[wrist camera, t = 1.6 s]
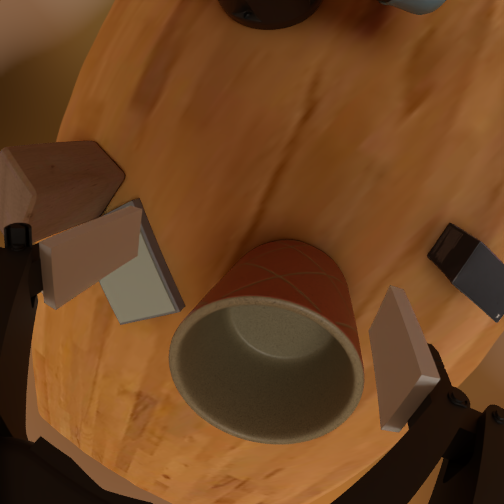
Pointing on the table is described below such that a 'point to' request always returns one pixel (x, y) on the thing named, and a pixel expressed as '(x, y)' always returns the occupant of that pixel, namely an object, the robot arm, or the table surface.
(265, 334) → the planter
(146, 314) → the grey rectangular slab
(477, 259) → the small box
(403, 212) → the table surface
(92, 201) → the wooden block
